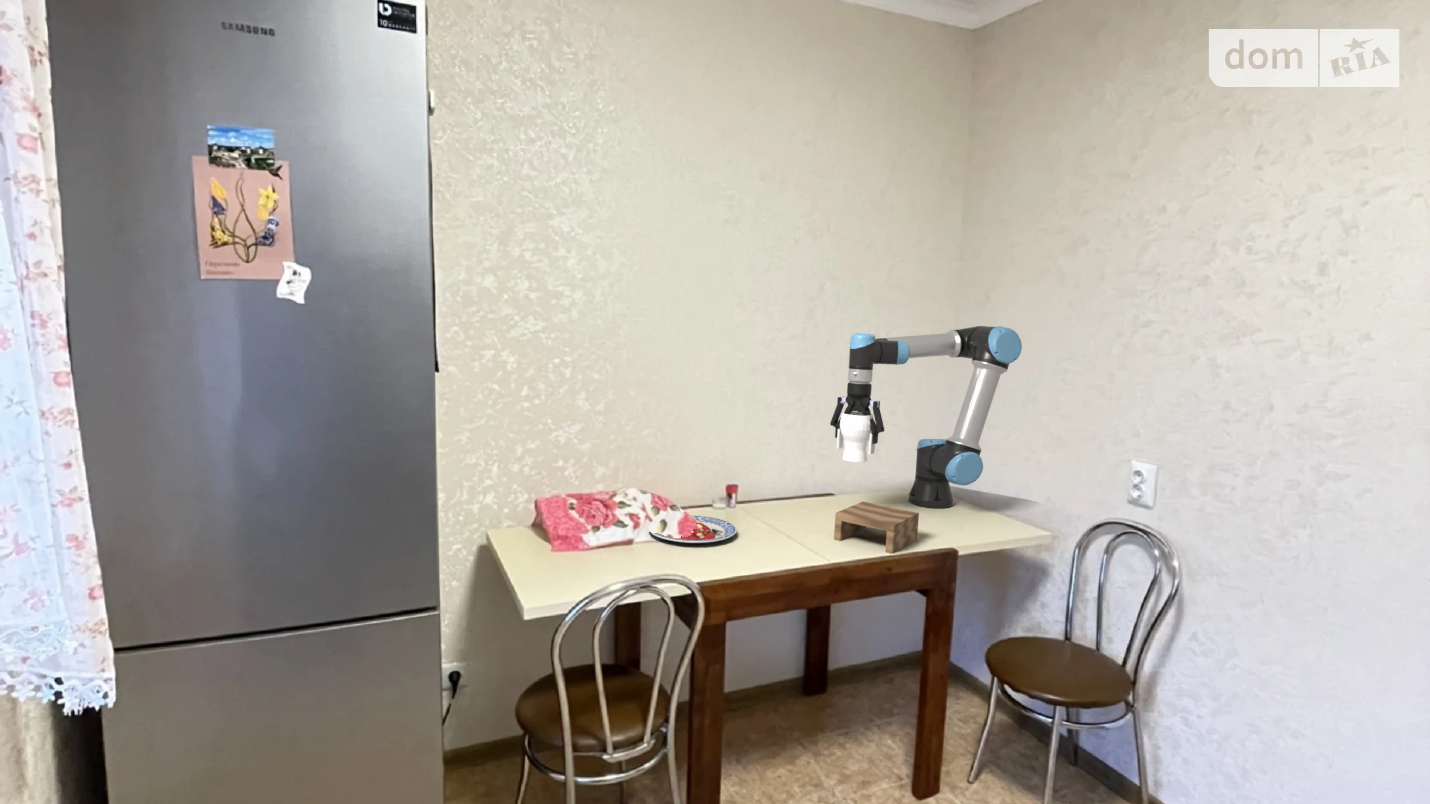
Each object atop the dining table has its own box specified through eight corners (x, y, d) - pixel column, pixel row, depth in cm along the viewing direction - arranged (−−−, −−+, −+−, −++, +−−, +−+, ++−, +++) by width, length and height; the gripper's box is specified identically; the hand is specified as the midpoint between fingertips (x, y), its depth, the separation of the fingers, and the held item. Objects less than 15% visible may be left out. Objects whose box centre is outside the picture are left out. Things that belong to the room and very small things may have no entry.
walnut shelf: (861, 526, 226) (863, 501, 225) (917, 539, 215) (919, 512, 214) (833, 539, 211) (835, 512, 210) (892, 553, 201) (894, 525, 200)
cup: (869, 457, 238) (872, 412, 236) (873, 464, 227) (876, 416, 225) (837, 455, 239) (839, 410, 237) (838, 462, 228) (841, 415, 226)
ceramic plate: (634, 543, 202) (635, 532, 201) (663, 518, 227) (663, 509, 226) (725, 553, 196) (725, 543, 196) (743, 527, 221) (744, 518, 220)
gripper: (821, 379, 234) (817, 447, 237) (888, 386, 220) (883, 458, 223) (833, 378, 240) (829, 444, 243) (898, 385, 226) (893, 454, 228)
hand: (855, 451), depth 233 cm, fingers closed on cup, 11 cm apart
